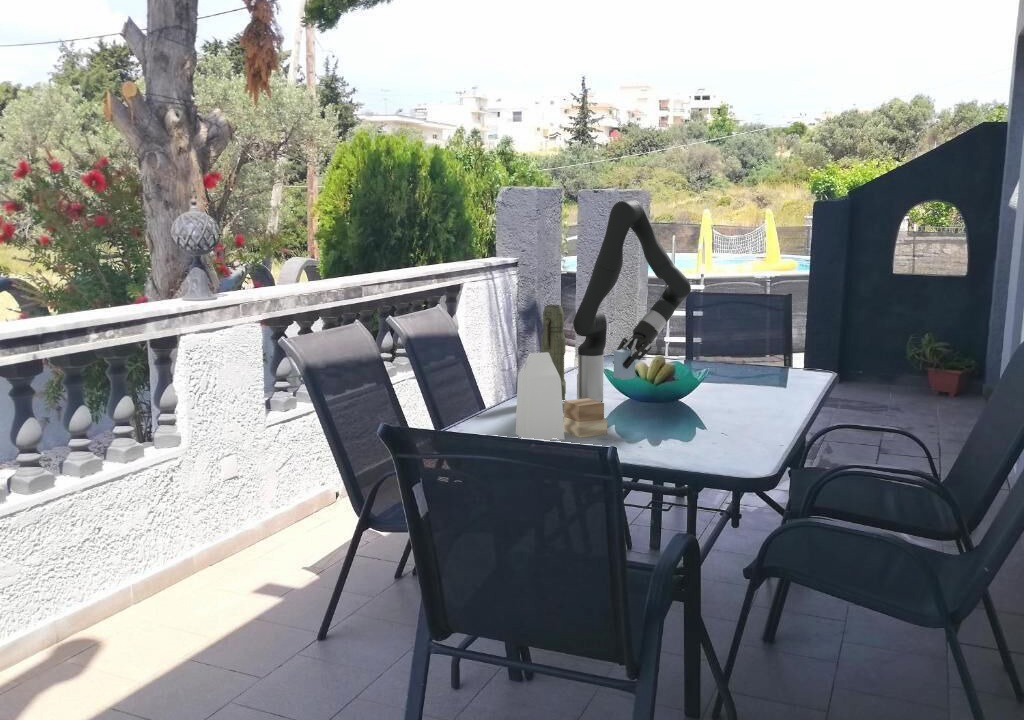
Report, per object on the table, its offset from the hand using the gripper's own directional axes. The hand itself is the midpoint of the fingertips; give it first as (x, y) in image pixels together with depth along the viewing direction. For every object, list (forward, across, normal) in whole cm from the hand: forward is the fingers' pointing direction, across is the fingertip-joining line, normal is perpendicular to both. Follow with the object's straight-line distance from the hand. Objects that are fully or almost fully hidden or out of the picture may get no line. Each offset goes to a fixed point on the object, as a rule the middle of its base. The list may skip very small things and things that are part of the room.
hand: (619, 365), depth 297 cm
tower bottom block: (+27, +10, -1) cm, 29 cm away
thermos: (+15, -38, +11) cm, 42 cm away
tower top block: (+24, +10, -5) cm, 26 cm away
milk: (+37, +8, -12) cm, 40 cm away
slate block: (+2, 0, +4) cm, 5 cm away
